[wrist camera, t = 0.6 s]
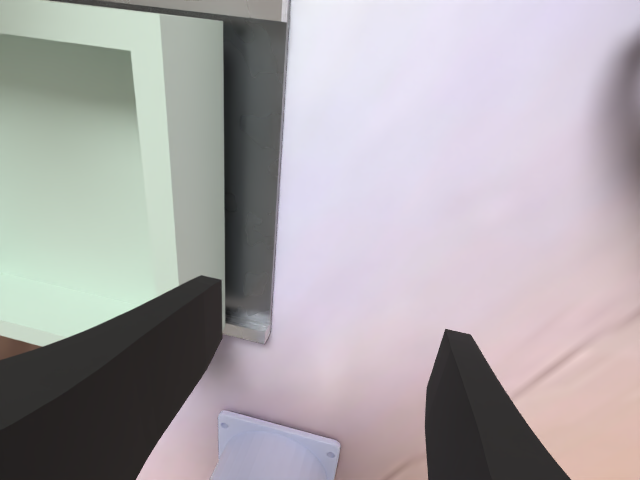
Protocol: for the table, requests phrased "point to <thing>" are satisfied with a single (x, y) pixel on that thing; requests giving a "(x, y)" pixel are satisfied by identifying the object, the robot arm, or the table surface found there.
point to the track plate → (244, 144)
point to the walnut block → (14, 347)
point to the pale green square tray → (105, 162)
